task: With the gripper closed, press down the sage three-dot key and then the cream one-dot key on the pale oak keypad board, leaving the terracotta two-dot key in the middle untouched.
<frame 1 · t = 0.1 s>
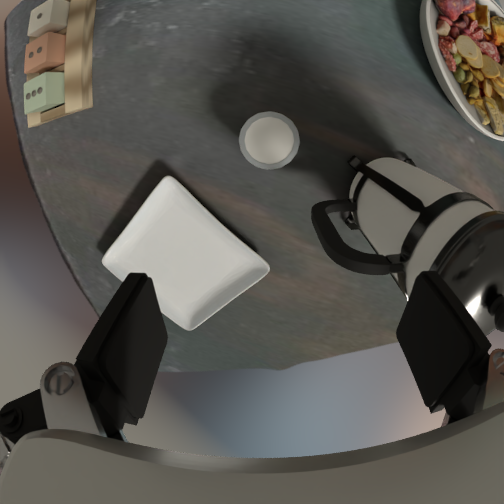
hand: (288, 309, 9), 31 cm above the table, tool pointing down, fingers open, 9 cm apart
shot glass: (267, 135, 35), on the table
keypad board: (62, 55, 27), on the table
coffee press: (371, 194, 38), on the table
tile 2: (45, 53, 23), point 5 cm above the table, slide at 0.0 cm
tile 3: (44, 92, 26), point 5 cm above the table, slide at 0.0 cm
salad plate: (182, 255, 45), on the table
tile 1: (49, 18, 19), point 5 cm above the table, slide at 0.0 cm
bowl: (476, 57, 24), on the table
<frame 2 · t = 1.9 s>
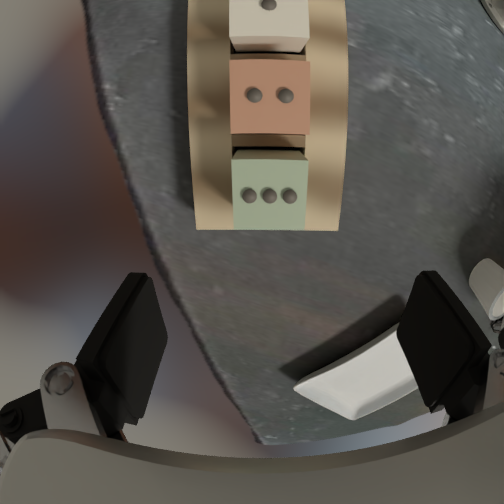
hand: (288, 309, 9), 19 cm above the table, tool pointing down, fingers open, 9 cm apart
shot glass: (480, 273, 30), on the table
keypad board: (267, 100, 22), on the table
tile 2: (269, 97, 18), point 5 cm above the table, slide at 0.0 cm
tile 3: (268, 186, 21), point 5 cm above the table, slide at 0.0 cm
salad plate: (374, 367, 40), on the table
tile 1: (268, 15, 14), point 5 cm above the table, slide at 0.0 cm
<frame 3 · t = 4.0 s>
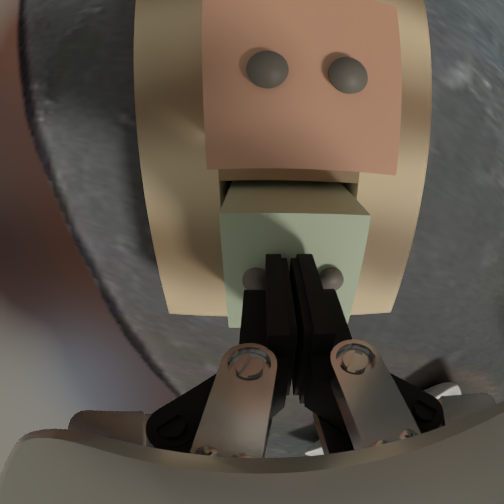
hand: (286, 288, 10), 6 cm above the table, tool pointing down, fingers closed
keypad board: (285, 91, 12), on the table
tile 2: (296, 81, 8), point 5 cm above the table, slide at 0.0 cm
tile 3: (288, 248, 12), point 3 cm above the table, slide at 1.4 cm, touching gripper
salad plate: (396, 421, 30), on the table
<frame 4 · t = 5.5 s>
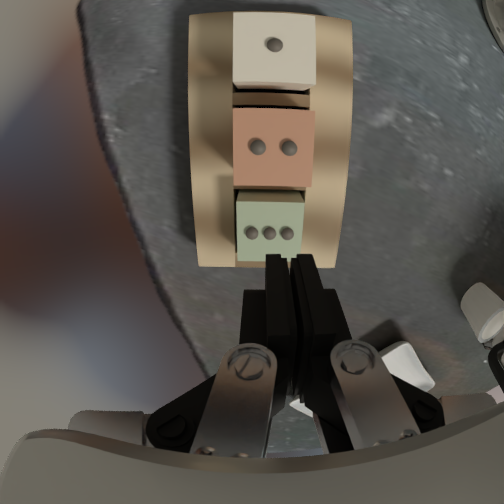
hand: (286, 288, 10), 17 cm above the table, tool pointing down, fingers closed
shot glass: (472, 296, 32), on the table
keypad board: (269, 138, 23), on the table
coffee press: (502, 322, 35), on the table
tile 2: (271, 143, 19), point 5 cm above the table, slide at 0.0 cm
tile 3: (268, 221, 24), point 3 cm above the table, slide at 2.1 cm
salad plate: (367, 383, 41), on the table
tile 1: (272, 53, 15), point 5 cm above the table, slide at 0.0 cm
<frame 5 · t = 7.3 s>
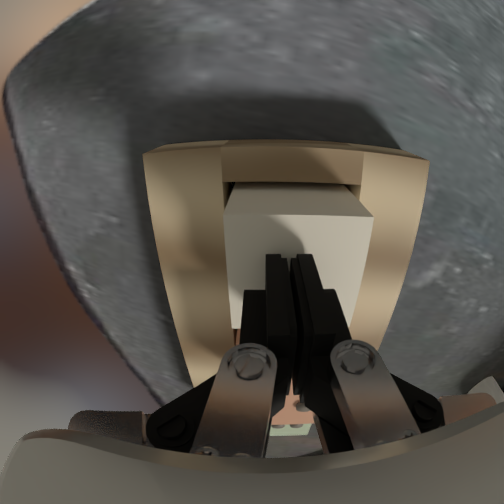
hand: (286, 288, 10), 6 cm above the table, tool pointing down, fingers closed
shot glass: (479, 386, 27), on the table
keypad board: (281, 314, 19), on the table
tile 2: (284, 369, 14), point 5 cm above the table, slide at 0.0 cm
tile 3: (277, 398, 20), point 3 cm above the table, slide at 2.1 cm
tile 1: (291, 249, 12), point 3 cm above the table, slide at 1.4 cm, touching gripper
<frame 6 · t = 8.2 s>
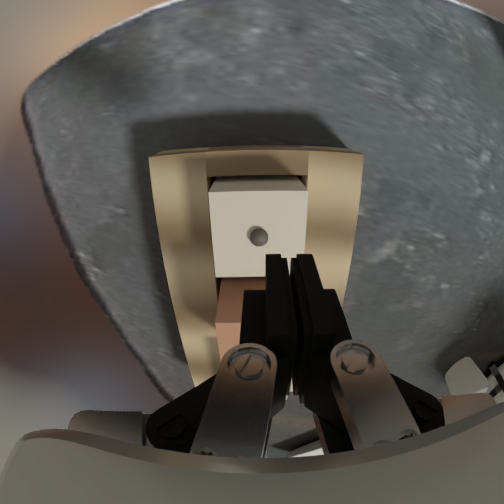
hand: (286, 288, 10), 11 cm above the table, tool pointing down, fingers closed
shot glass: (457, 367, 32), on the table
keypad board: (257, 287, 23), on the table
coffee press: (488, 374, 36), on the table
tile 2: (259, 326, 19), point 5 cm above the table, slide at 0.0 cm
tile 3: (258, 365, 24), point 3 cm above the table, slide at 2.1 cm
salad plate: (355, 436, 41), on the table
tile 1: (257, 220, 17), point 3 cm above the table, slide at 2.1 cm
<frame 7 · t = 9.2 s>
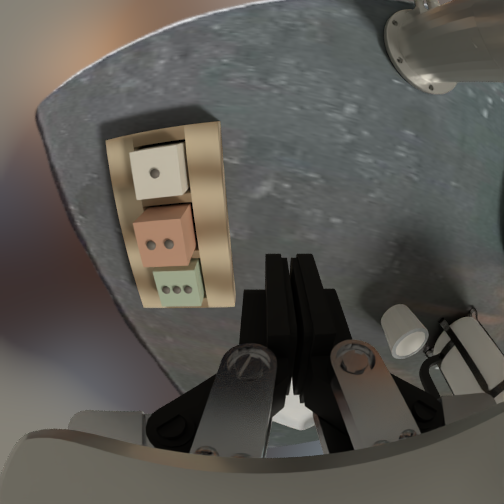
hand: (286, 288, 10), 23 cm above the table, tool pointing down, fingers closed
shot glass: (394, 316, 42), on the table
keypad board: (176, 219, 33), on the table
coffee press: (445, 333, 45), on the table
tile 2: (166, 235, 29), point 5 cm above the table, slide at 0.0 cm
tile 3: (181, 278, 34), point 3 cm above the table, slide at 2.1 cm
salad plate: (308, 389, 51), on the table
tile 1: (162, 169, 28), point 3 cm above the table, slide at 2.1 cm
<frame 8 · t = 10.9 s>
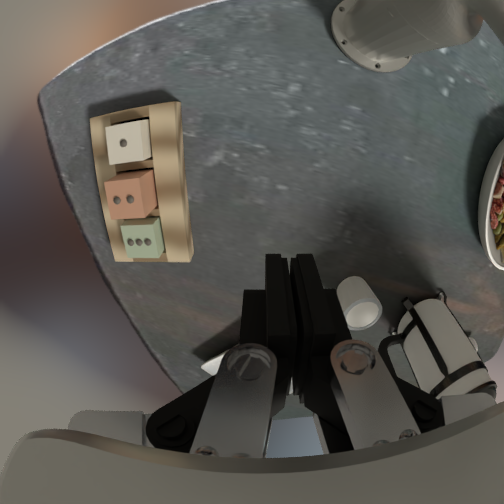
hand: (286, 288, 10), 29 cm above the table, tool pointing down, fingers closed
shot glass: (351, 288, 46), on the table
keypad board: (144, 184, 38), on the table
coffee press: (412, 316, 49), on the table
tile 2: (131, 193, 33), point 5 cm above the table, slide at 0.0 cm
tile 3: (145, 234, 39), point 3 cm above the table, slide at 2.1 cm
salad plate: (269, 359, 56), on the table
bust: (455, 343, 55), on the table
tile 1: (131, 140, 32), point 3 cm above the table, slide at 2.1 cm
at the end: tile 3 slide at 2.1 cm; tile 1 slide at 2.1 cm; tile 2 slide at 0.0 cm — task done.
